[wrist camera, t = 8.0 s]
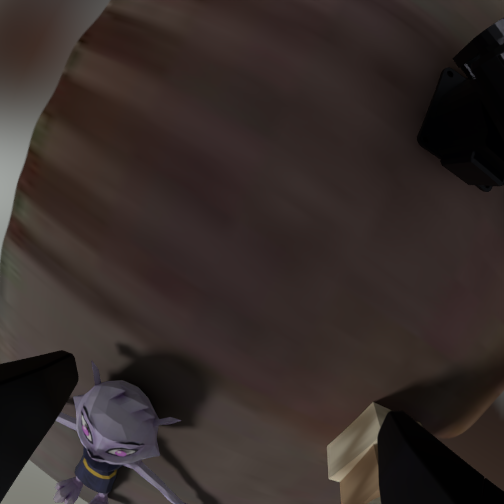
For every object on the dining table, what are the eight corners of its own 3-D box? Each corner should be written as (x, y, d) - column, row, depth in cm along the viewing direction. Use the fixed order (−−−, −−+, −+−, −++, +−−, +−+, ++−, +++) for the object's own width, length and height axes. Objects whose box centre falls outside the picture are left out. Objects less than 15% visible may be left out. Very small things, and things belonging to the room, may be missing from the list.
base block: (372, 401, 21) (382, 434, 17) (420, 422, 21) (433, 452, 17) (327, 445, 23) (328, 478, 19) (375, 462, 23) (381, 493, 19)
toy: (1, 456, 25) (-41, 322, 14) (33, 421, 34) (34, 278, 23) (157, 559, 25) (271, 536, 14) (177, 515, 33) (289, 443, 23)
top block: (373, 444, 18) (381, 485, 14) (425, 451, 17) (438, 487, 13) (339, 481, 19) (342, 520, 15) (390, 487, 18) (396, 522, 15)
